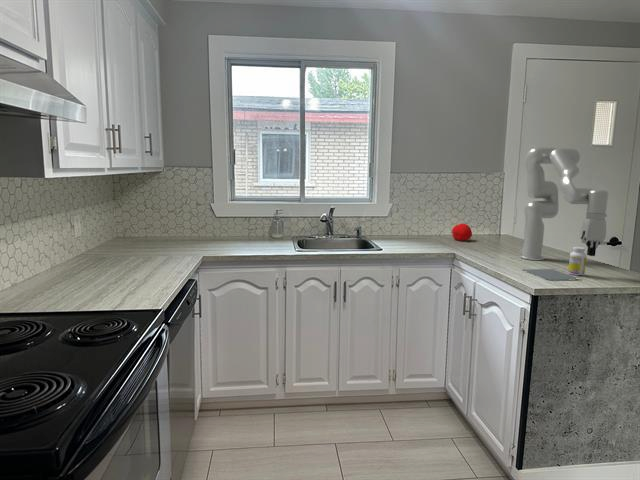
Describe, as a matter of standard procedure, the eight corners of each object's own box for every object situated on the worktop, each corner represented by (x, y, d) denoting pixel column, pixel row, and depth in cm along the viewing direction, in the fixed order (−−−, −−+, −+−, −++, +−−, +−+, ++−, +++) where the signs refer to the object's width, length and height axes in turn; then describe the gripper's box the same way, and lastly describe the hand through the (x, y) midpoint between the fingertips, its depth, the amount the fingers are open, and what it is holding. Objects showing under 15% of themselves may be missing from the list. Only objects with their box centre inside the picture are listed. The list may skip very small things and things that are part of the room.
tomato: (470, 246, 295) (456, 243, 307) (479, 230, 296) (465, 228, 308) (457, 236, 290) (444, 234, 302) (467, 220, 291) (453, 218, 303)
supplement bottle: (578, 273, 210) (581, 246, 208) (587, 276, 203) (590, 249, 201) (564, 272, 210) (567, 246, 208) (573, 276, 203) (576, 248, 201)
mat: (522, 270, 213) (522, 269, 213) (552, 269, 216) (552, 268, 216) (549, 280, 194) (549, 279, 194) (581, 280, 196) (581, 279, 196)
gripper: (603, 215, 208) (598, 253, 211) (575, 215, 206) (570, 254, 209) (616, 217, 201) (611, 257, 204) (587, 217, 198) (582, 257, 201)
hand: (590, 255), depth 206 cm, fingers closed
